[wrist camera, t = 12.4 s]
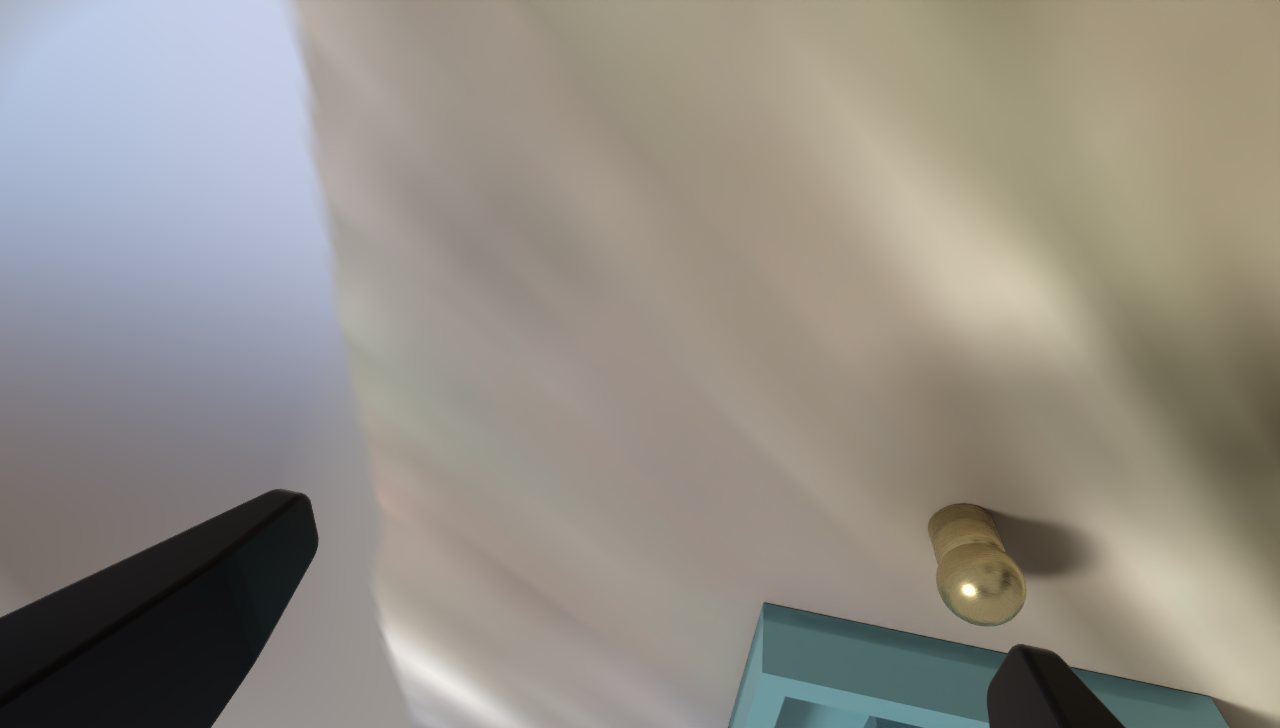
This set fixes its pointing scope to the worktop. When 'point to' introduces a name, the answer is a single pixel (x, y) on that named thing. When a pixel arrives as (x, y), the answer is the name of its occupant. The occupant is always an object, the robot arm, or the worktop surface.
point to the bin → (907, 680)
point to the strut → (886, 723)
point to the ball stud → (975, 567)
